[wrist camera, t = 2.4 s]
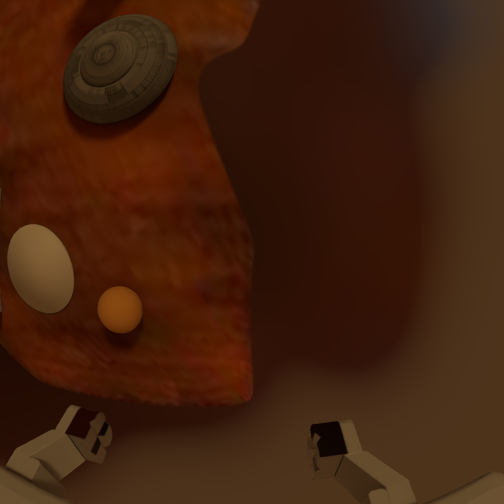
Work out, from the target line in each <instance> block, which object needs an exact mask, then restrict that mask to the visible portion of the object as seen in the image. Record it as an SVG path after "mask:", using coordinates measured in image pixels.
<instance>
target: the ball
mask: <svg viewBox="0 0 504 504" xmlns="http://www.w3.org/2000/svg"><path fill="white" fill-rule="evenodd" d="M142 314H143V308H142V303H141V301H140V299H139V297H138V296H137V294H136V293H135V292H134V291H132V290H131V289H129V288H126V287H123V286H116V287H112V288H110V289H108V290H107V291H105V292H104V293H103V294H102V296H101V297H100V300H99V303H98V315H99V318H100V320H101V322H102V323H103V325H104V326H105V327H106V328H108V329H109V330H111V331H113V332H116V333H126V332H129V331H132V330H133V329H134V328H136V327H137V325H138V324H139V323H140V321H141V318H142Z"/></svg>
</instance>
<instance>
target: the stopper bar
mask: <svg viewBox="0 0 504 504" xmlns="http://www.w3.org/2000/svg"><path fill="white" fill-rule="evenodd" d="M1 190H2V189H0V200H1ZM0 312H2V307H1V297H0Z"/></svg>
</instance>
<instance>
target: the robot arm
mask: <svg viewBox="0 0 504 504" xmlns="http://www.w3.org/2000/svg"><path fill="white" fill-rule="evenodd" d="M105 419H106V418H105V416H104V414H103V413H101V412H97V411H93V410H89V409H85V408H82V407H77V406H74V405H71V406H69V407H68V409H67V411H66V413H65V414H64V416H63V417H62V419H61V421H60V422H59V424H58V426H57V428H56V429H55V430H51V431H49V432H47V433H45V434H43V435H41V436H39V437H37V438H36V439H34V440H32V441H30V442H28V443H26V444H24V445H22V446H20V447H18V448H17V449H16V450H15V452H14V453H13V455H12V456H11V458H10V460H9V462H8V463H7V465H6V467H5V468H4V467H3V466H1V465H0V504H76V503H73V502H71V501H69V500H66V499H64V495H65V493H66V489H65V488H64V487H63V486H62V485H61V484H60V483H59V482H58V481H59V480H61V479H62V478H63V477H65V476H66V475H67V474H69V473H70V472H71V471H72V470H74V469H75V468H76V467H77V466H79V465H80V464H81V463H82V462H84V461H85V459H86V460H90V461H93V462H97V463H101V464H102V462H103V460H104V457H105V455H106V453H107V452H106V449H105V447H107V446H108V445H110V442H111V440H112V430H111V427H110V425H109V424H108V423H107V422H105ZM310 432H311V435H310V436H309V437H308V456H309V458H310V459H311V460H312V462H311V465H310V467H311V474H312V479H313V480H314V479H323V478H330V477H334V478H335V479H336V480H337V481H338V482H339V483H340V484H341V485H342V486H343V487H344V488H345V489H346V490H347V491H348V492H349V493H350V494H351V495H352V496H353V497H354V498H355V499H356V500H357V501H359V502H360V503H361V504H417V502H416V499H415V497H414V494H413V491H412V489H411V486H410V483H409V481H408V479H406V478H405V477H403V476H402V475H400V474H399V473H397V472H396V471H394V470H393V469H391V468H390V467H388V466H387V465H385V464H384V463H383V462H381V461H380V460H378V459H377V458H375V457H374V456H373V455H371V454H370V453H368V452H367V451H362V449H361V445H360V442H359V440H358V437H357V433H356V431H355V428H354V425H353V422H352V421H351V420H350V419H349V420H343V421H333V422H326V423H318V424H312V425H311V428H310ZM423 504H504V474H501V473H499V472H495V471H491V472H488V473H485V474H484V475H482V476H480V477H478V478H476V479H475V480H473V481H471V482H469V483H467V484H465V485H463V486H461V487H459V488H457V489H455V490H453V491H451V492H449V493H447V494H445V495H442V496H440V497H438V498H435V499H433V500H431V501H428V502H425V503H423Z"/></svg>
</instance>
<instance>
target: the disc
mask: <svg viewBox="0 0 504 504" xmlns="http://www.w3.org/2000/svg"><path fill="white" fill-rule="evenodd" d="M8 269H9V273H10V277H11V280H12V282H13V285H14V287H15V289H16V290H17V292H18V294H19V295H20V296H21V298H22V299H23V300H24V301H25V302H26V303H27V304H28V305H29V306H31V307H32V308H34V309H36V310H37V311H40V312H43V313H56V312H59V311H60V310H62V309H63V308H64V307H66V305H67V304H68V303H69V301H70V299H71V297H72V294H73V290H74V271H73V266H72V263H71V259H70V257H69V254H68V252H67V250H66V248H65V247H64V245H63V244H62V242H61V241H60V239H59V238H58V237H57V236H56V235H55V234H54V233H53V232H52V231H50V230H49V229H47V228H45V227H43V226H41V225H36V224H31V225H26V226H24V227H22V228H20V229H19V230H18V231H17V232H16V233H15V234H14V236H13V237H12V239H11V242H10V245H9V248H8Z"/></svg>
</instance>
